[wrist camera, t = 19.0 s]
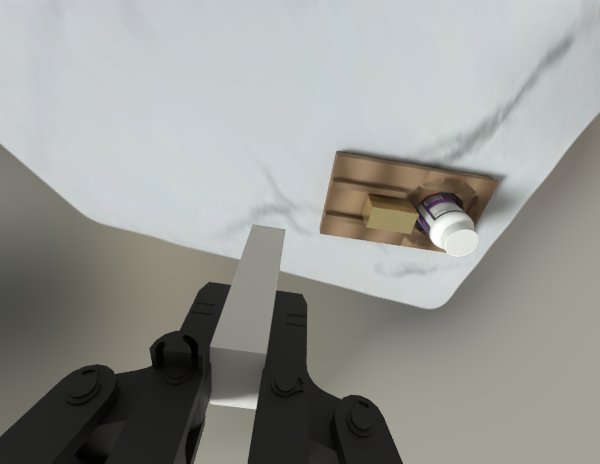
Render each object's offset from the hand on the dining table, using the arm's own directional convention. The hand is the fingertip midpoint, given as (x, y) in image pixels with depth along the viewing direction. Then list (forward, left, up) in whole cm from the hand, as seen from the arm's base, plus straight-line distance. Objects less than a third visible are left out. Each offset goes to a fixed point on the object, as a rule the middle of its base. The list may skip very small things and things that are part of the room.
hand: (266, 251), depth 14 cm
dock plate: (+17, -8, -28) cm, 34 cm away
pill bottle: (+22, -8, -29) cm, 37 cm away
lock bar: (+14, -8, -26) cm, 31 cm away
